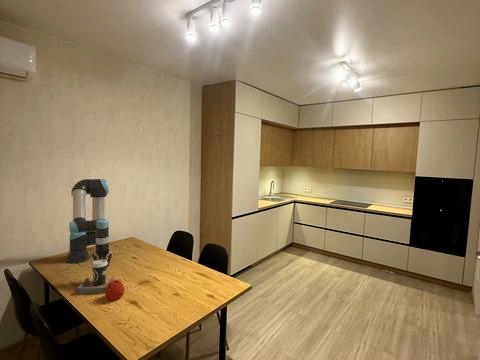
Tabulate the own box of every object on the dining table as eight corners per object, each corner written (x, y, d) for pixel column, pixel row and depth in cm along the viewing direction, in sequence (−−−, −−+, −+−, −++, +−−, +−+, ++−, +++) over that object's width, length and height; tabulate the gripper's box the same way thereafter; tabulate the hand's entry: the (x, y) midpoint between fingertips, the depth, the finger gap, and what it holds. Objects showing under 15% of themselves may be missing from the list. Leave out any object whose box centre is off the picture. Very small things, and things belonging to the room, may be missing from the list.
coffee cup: (101, 288, 164) (101, 265, 163) (87, 286, 165) (87, 263, 164) (111, 281, 174) (111, 259, 172) (97, 279, 175) (97, 258, 174)
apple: (111, 304, 147) (111, 286, 146) (101, 298, 152) (101, 281, 152) (127, 296, 156) (127, 279, 155) (117, 291, 161) (117, 275, 160)
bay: (87, 282, 170) (86, 277, 170) (113, 282, 172) (113, 277, 172) (76, 294, 156) (76, 288, 156) (105, 293, 158) (105, 287, 158)
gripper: (89, 245, 168) (89, 280, 170) (110, 244, 170) (111, 279, 172) (94, 241, 175) (94, 275, 177) (114, 241, 177) (114, 274, 179)
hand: (102, 277), depth 174 cm, fingers closed
